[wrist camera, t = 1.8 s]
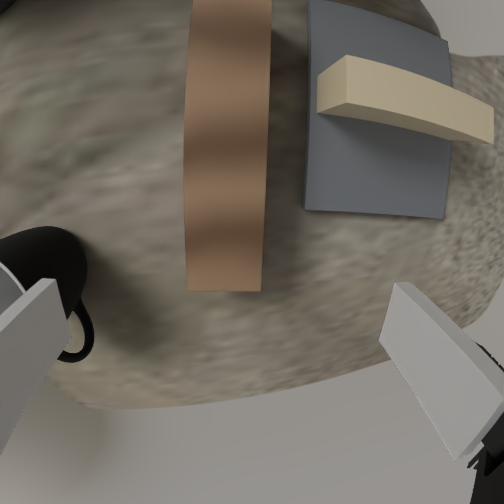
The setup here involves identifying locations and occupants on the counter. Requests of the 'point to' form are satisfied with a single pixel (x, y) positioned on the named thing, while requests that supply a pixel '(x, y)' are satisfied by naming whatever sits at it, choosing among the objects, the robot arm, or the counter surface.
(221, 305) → the counter surface
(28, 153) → the counter surface
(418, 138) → the fulcrum
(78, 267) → the mug
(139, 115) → the counter surface
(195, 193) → the beam
